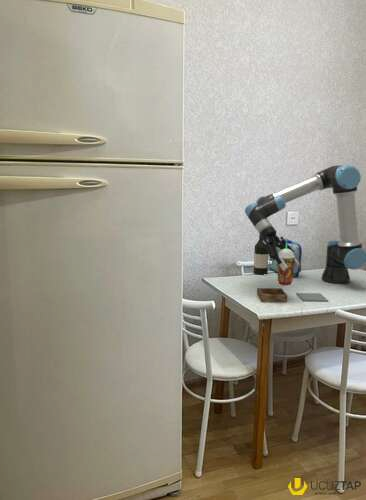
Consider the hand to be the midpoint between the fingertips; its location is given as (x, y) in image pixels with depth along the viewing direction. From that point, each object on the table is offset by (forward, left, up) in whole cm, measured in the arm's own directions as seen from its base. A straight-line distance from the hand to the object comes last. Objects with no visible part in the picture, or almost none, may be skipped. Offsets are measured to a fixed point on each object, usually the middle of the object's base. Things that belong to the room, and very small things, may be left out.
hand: (291, 267), depth 189 cm
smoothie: (+2, -3, -9) cm, 9 cm away
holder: (+8, -2, -16) cm, 18 cm away
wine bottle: (+4, -53, -16) cm, 56 cm away
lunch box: (-11, -55, -16) cm, 58 cm away
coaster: (-12, -4, -16) cm, 20 cm away
